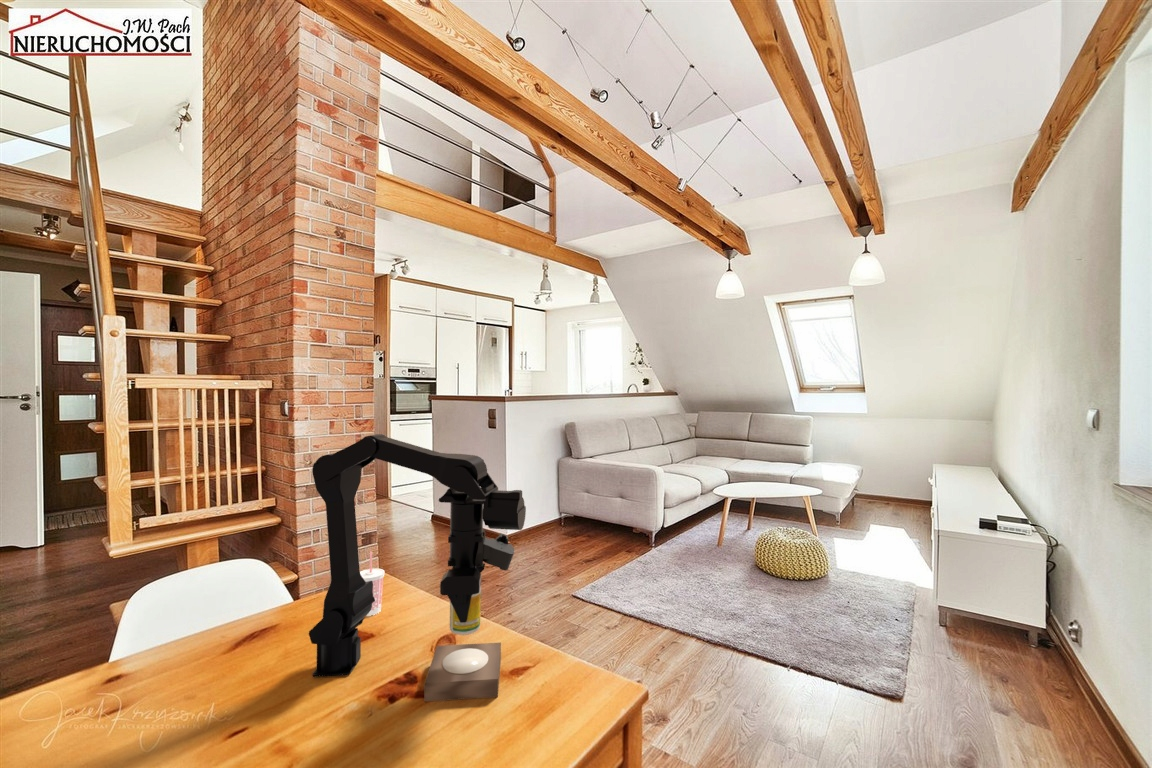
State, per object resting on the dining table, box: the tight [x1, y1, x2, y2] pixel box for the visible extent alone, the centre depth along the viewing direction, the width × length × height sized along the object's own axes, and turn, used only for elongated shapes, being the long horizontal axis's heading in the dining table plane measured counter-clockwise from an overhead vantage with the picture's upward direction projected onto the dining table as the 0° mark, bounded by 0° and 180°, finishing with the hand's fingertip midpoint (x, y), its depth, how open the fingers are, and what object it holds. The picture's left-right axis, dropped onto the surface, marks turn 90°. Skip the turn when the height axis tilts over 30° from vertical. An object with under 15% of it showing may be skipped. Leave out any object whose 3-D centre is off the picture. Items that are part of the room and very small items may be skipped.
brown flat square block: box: [423, 642, 502, 702], centre depth 87 cm, size 12×12×3 cm
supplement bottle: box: [449, 587, 482, 636], centre depth 87 cm, size 5×5×10 cm
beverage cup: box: [360, 550, 386, 617], centre depth 113 cm, size 6×6×14 cm
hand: (465, 614), depth 87 cm, fingers closed on supplement bottle, 5 cm apart
